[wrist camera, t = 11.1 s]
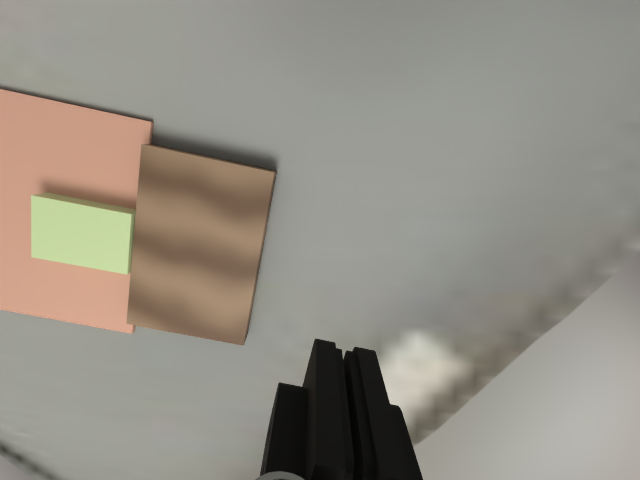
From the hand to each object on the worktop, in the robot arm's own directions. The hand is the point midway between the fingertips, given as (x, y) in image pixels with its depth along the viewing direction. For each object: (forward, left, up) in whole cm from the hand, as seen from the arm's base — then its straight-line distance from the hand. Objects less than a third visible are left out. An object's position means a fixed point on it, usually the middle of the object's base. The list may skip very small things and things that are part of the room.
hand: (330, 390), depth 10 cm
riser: (+6, -11, -27) cm, 29 cm away
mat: (+6, -25, -27) cm, 37 cm away
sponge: (+6, -22, -25) cm, 34 cm away
